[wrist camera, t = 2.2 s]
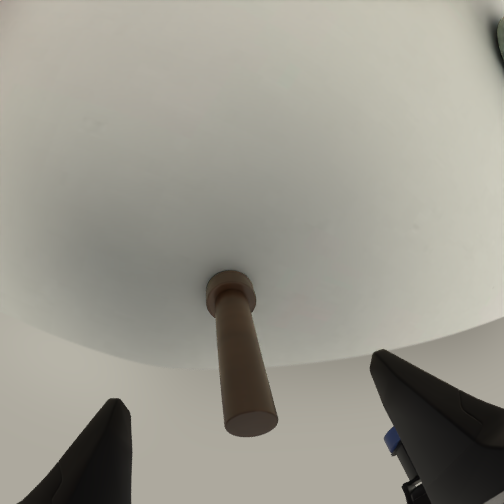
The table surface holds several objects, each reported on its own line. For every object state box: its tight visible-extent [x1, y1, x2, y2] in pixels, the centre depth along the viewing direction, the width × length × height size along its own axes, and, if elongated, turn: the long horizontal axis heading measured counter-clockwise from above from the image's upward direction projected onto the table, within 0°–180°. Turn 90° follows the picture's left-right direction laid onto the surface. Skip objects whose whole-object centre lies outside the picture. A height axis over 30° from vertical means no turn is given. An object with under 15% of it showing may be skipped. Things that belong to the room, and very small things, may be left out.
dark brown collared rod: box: [206, 271, 278, 437], centre depth 11 cm, size 2×2×8 cm
